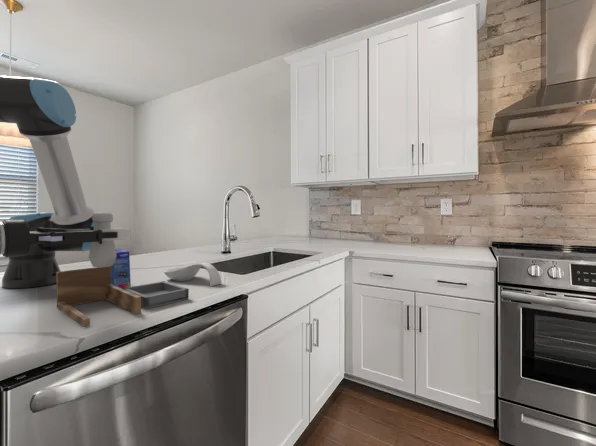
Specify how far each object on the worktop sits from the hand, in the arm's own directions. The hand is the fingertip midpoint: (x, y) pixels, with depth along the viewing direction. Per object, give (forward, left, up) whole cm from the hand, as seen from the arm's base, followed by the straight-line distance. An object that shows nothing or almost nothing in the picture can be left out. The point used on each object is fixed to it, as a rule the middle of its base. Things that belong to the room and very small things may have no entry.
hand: (126, 233), depth 80 cm
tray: (-1, +8, -19) cm, 21 cm away
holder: (-2, -6, -19) cm, 20 cm away
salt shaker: (0, -5, -8) cm, 10 cm away
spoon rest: (-14, +28, -19) cm, 36 cm away
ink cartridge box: (-21, +5, -19) cm, 29 cm away
